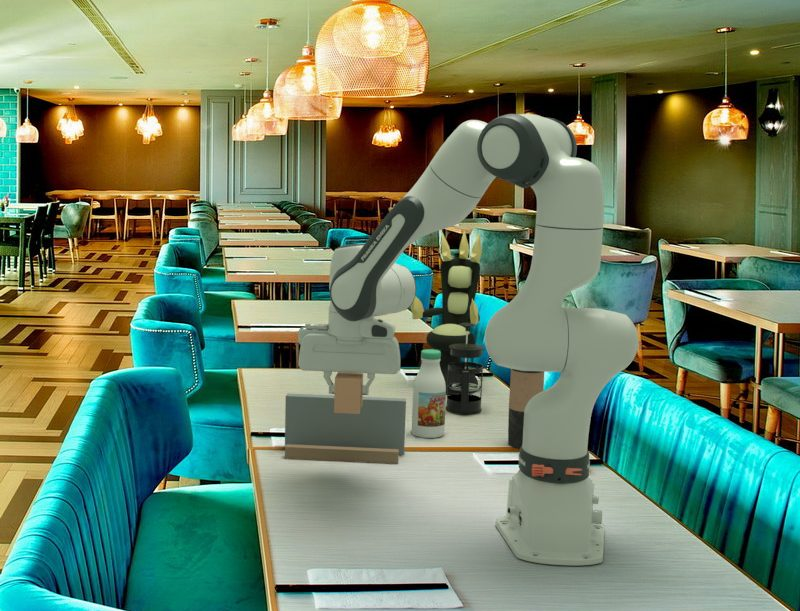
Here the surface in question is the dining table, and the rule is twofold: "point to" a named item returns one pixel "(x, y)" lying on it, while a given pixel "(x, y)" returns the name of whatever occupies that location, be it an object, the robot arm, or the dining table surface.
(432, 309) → the miniature padded chair
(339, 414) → the cleat board
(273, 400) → the dining table surface
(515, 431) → the travel mug
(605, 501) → the dining table surface
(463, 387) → the french press
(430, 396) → the milk bottle
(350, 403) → the block
